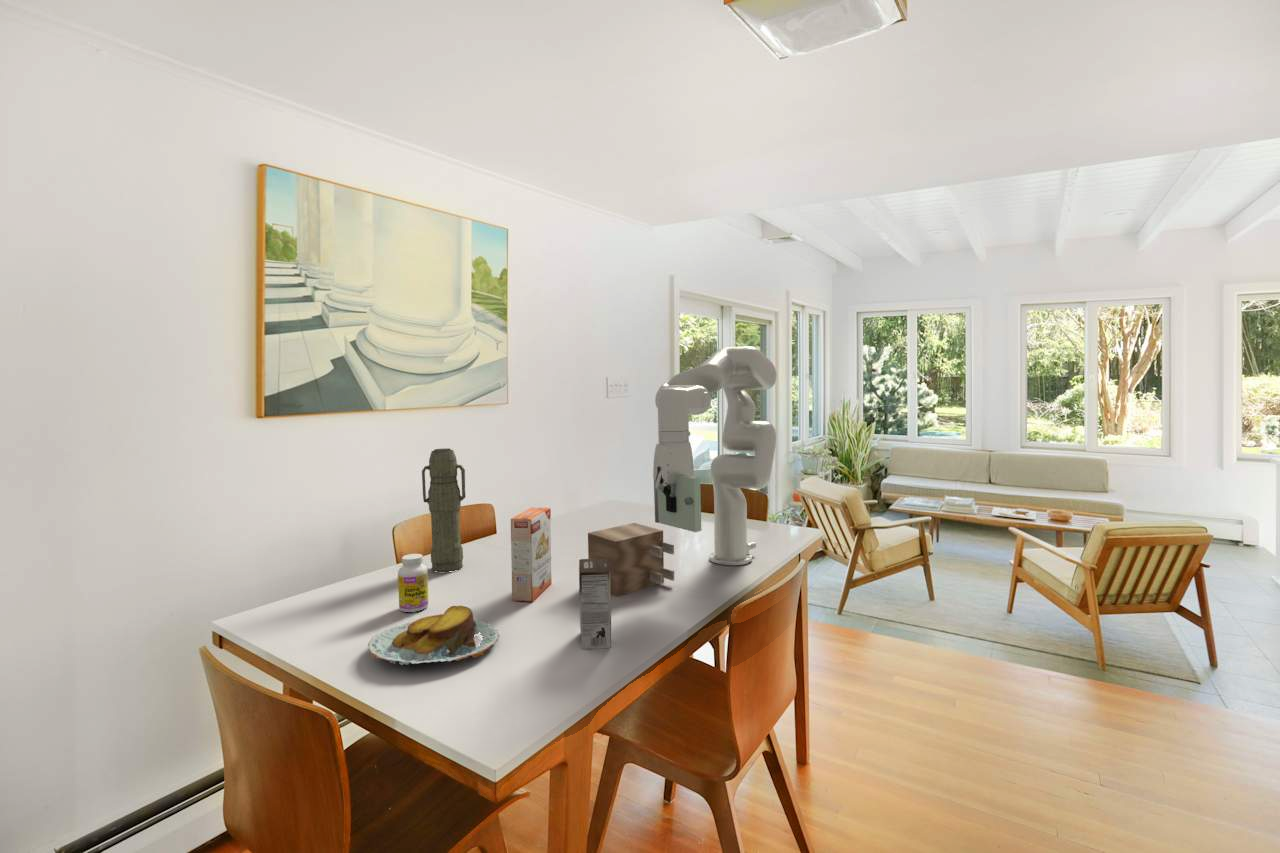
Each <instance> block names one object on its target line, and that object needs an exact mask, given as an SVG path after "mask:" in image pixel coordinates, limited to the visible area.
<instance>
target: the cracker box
mask: <svg viewBox="0 0 1280 853" xmlns="http://www.w3.org/2000/svg"><path fill="white" fill-rule="evenodd" d="M551 510H552V509H551V508H550V507H530V508H528V509H525V510H524V511H522V512H521V513H519V514H517V515H515V516H513V517H511V518H510V555H511V557H510V559H511V561H510V563H511V600H512V601H515V602H528V603H529V602H531V603H533V602H535V600H536V599H537V598H538V597H539V596H541V595H542V594H543V592H545V591H546V590H547V589H548V588H549V587H550V586H551V585H552V529H551V528H552V527H551V525H552V524H551V523H552V522H551V521H552V520H551V519H552V517H551V516H552V515H551V512H552V511H551Z"/></svg>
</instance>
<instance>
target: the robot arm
mask: <svg viewBox="0 0 1280 853" xmlns="http://www.w3.org/2000/svg"><path fill="white" fill-rule="evenodd" d="M776 381H777V369H776V367H775V365H774V363H773V362H772V361H771V360H770V358H768V357H767V356H766V355H765V354H764V352H763V351H761V350H760V349H758V348H756V347H754V346H750V345H749V346H747V345H746V346H726V347H722V348H719V349H718V350H716V351H715V352H713V354H711V356H709V357H708V358H707V359H706V360H704V361H703V363H702V364H700V365H697V366H695V367H693V368H690V369H687V370H685V371H682V372H679V373H677V374H675V375H673V376H671V377H669V378H668V379H667V380H666V381H664V383H662V385H660V387H659V388H658V389H657V392H656V393H655V406H656V408H657V430H658V431H657V432H658V434H657V435H658V443H656V444H655V449H654V453H653V467H652V468H653V470H652V471H653V472H652V473H653V474H652V476H653V483H654V482H655V483H656V484H655V489H658V490H661V491H662V492H663V493H664V495H665V496H666V510H667V511H669V512H673V513H675V512H676V497H675V496H674V495H675V493H674V484H676V483H677V480H678V476H681V475H687V476H693V477H694V458H693V452H692V451H693V450H692V446H691V445H692V444H691V442H690V436H691V432H690V431H689V426H690V425H689V424H690V423H689V415H690V416H697V415H698V416H699V415H702V414H704V413H706V412H707V411H708V410H709V408H710V407H711V405H712V396H711V394H714V393H716V392H719V391H720V390H722V389H723V393H724V395H725V398H726V401H727V409H726V411H727V412H726V415H725V416H726V417H725V422H724V426H723V432H722V440H721V441H722V442H721V443H722V446H723V448H724V449H725V450H726V451H729V452H735V454H730V453H725V454H720V455H717V456H715V458H713V460H712V461H711V463H710V476H711V481H712V486H713V487H712V488H713V499H714V500H713V501H714V502H713V504H714V505H713V506H714V507H713V508H714V510H713V512H714V516H713V518H714V519H713V520H714V521H713V522H714V530H713V531H714V551H713V552H711V553H710V554H709V556H708V558H709V560H710V561H711V562H713V563H715V564H717V565H723V566H742V565H743V566H744V565H747V564H750V563H751V562H752V560H753V556H752V554H750V553H749V551H750V550H753V549H756V548H757V544H756V542H754V541H753V542H747V541H748V540H747V539H748V538H747V537H748V534H747V532H748V529H747V527H748V526H747V525H748V524H747V519H748V517H747V515H748V514H747V511H748V510H747V508H748V505H747V499H746V497H745V494H744V492H743V491H742V489H752V490H761V489H764V488H766V487H767V486H768V484H769V482H770V481H771V474H772V469H773V462H774V457H775V451H776V444H777V433H776V429H775V427H774V425H773V424H772V423H771V422H768V421H763V420H755V419H756V411H757V406H756V405H755V402H754V401H753V399H752V397H751V396H750V395H749V394H748V392H747V391H749V390H751V391H754V390H755V391H757V390H758V391H764V390H766V391H767V390H769V389H771V388H772V387H774V385H775V384H776ZM746 390H747V391H746ZM736 452H737V453H745V454H746V453H747V454H748V455H747V454H746V455H745V454H736ZM749 453H750V454H754V455H749ZM668 487H669V488H668ZM741 488H742V489H741ZM749 562H750V563H749Z"/></svg>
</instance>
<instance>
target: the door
mask: <svg viewBox="0 0 1280 853" xmlns="http://www.w3.org/2000/svg"><path fill="white" fill-rule="evenodd" d="M655 484H656V483H655V482H654V481H653V492H654V493H653V496H654V497H653V499H654V503H653V504H654V523H657V524H662V525H666V526H670V527H673V528H678V529H681V530H686V531H688V532H693V533H698V532H702V502H701V501H702V499H701V498H702V496H701V492H702V491H701V477H697V476H694V475H693V476H687V475H681V476H678V480H677V483H676V484H674V493H675V495H674V496H675V497H676V512H675V513H673V512H669V511H667V510H666V496H665V495H664V493H663V492H662V491H661V490H658V489H655ZM668 488H669V487H668Z"/></svg>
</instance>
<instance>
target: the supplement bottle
mask: <svg viewBox="0 0 1280 853" xmlns="http://www.w3.org/2000/svg"><path fill="white" fill-rule="evenodd" d="M423 558H424V557H423V554H421V553H410V554H409V553H408V554H406V555H403V556H402V557H401V564H402V566H401V567H400V568H399V569H398V570H397V584H398V585H397V586H398V587H397V588H398V607H399V610H400V611H401V612H402V611H405V612H413V613H415V612H414V611H419V612H421V611H420V610H422V611H423V609H424V610H426V609H427V608H428V606H429V586H428V585H429V584H428V583H429V581H428V568H427V566H426V565H425V564H423V560H424V559H423ZM425 608H426V609H425ZM405 612H404V613H405Z"/></svg>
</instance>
